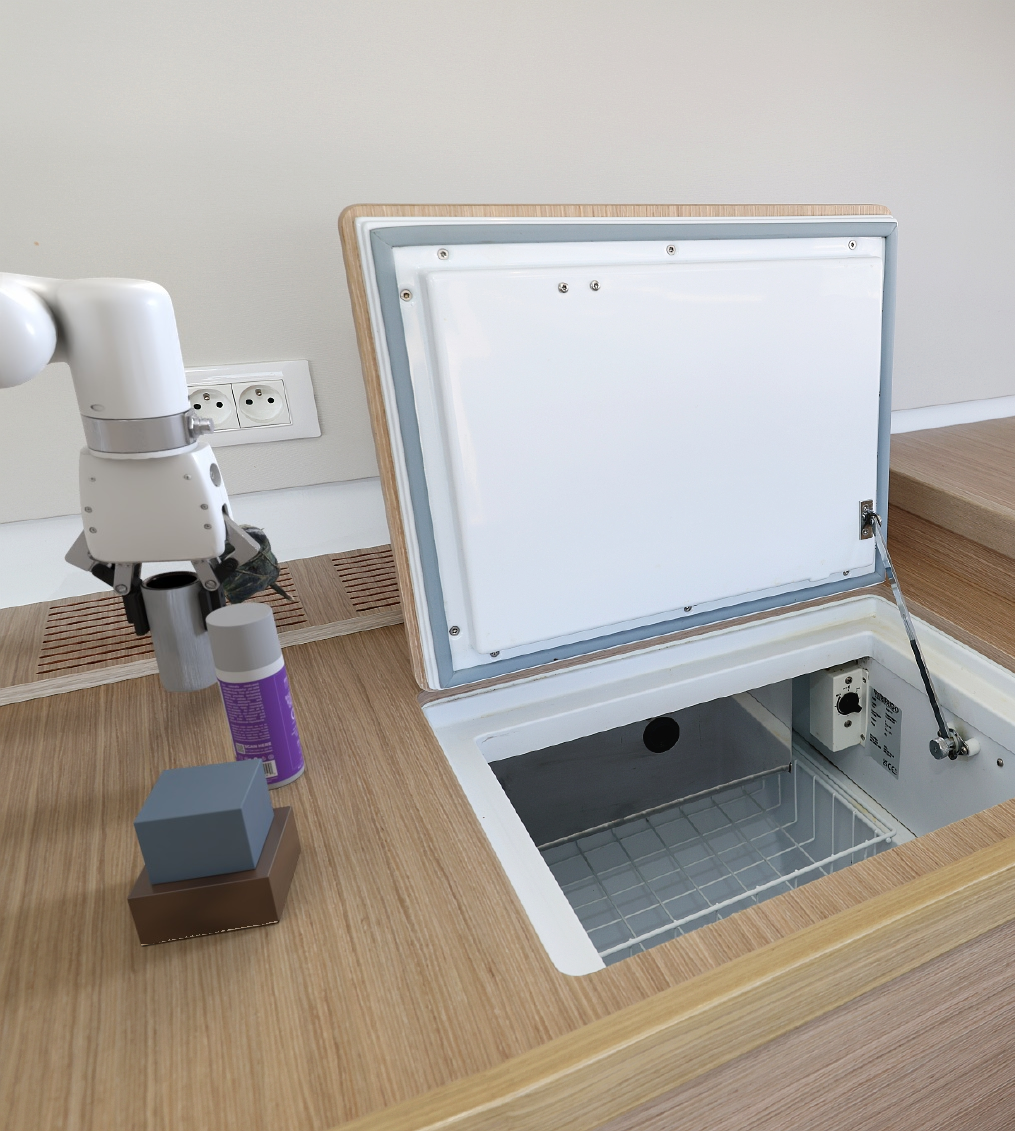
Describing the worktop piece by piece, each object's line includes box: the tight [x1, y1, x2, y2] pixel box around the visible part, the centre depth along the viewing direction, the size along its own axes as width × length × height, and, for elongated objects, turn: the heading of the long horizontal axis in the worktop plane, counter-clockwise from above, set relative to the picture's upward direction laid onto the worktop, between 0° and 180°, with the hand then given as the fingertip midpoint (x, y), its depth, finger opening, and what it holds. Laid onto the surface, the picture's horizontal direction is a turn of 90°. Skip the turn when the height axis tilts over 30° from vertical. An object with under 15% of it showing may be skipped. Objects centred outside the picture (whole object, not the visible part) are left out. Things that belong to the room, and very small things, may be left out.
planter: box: [141, 570, 218, 694], centre depth 86 cm, size 4×4×10 cm
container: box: [206, 602, 306, 791], centre depth 77 cm, size 5×5×15 cm
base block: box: [126, 805, 302, 945], centre depth 66 cm, size 8×8×4 cm
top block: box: [133, 758, 274, 885], centre depth 64 cm, size 6×6×5 cm
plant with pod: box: [218, 523, 295, 605], centre depth 99 cm, size 8×11×20 cm
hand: (180, 625), depth 86 cm, fingers closed on planter, 4 cm apart
